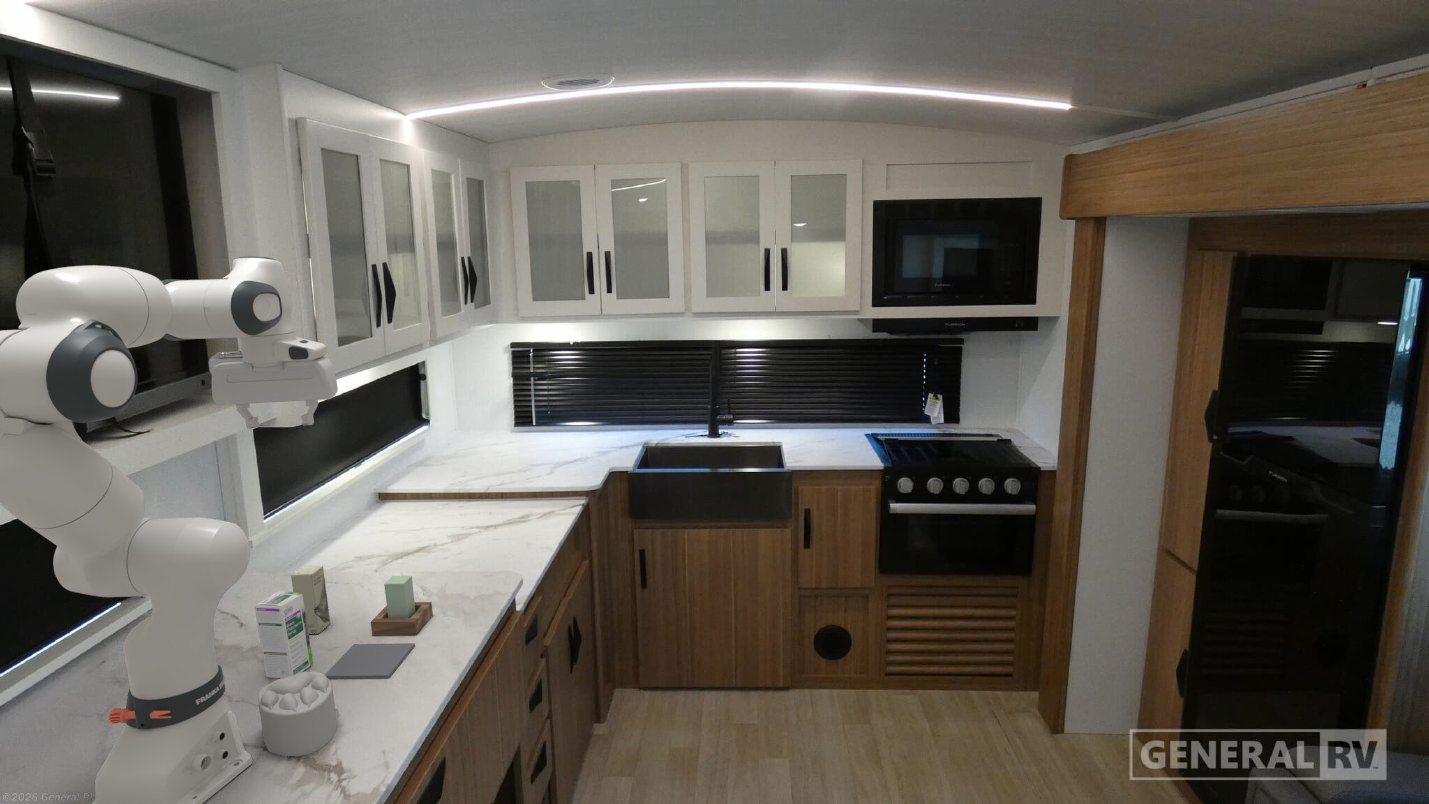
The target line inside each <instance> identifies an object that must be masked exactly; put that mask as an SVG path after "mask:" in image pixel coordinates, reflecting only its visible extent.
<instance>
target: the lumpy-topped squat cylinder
mask: <svg viewBox="0 0 1429 804" xmlns="http://www.w3.org/2000/svg"><path fill="white" fill-rule="evenodd" d="M257 702H258V708H259V709H258V710H259V714H260V723H261V728H262V735H263V741H264V742H263V743H264V745H265V748H266V749H267V750H268V752H270V753H272V754H274V755H277V756H280V755H282V756H281V757H287V756H288V758H290V757H289V756H295V757H302V755H303V756H307V755H310V754H312V753H315V752H317V751H319V750H321V749H322V748H323V747H325V746H326V745H327V744H329V743H330V742H331V741H332V739H333V738H334V736H335V734H336V733H337V731H338V720H337V712H336V705H335V697H334V689H333V685H332V683H331V681H330V679H328V678H327V677H326V676H325V674H324V673H323V672H320V671H303V672H301V673H298V674H296V675H293V676H290V677H286V678H282V679H278V678H276V679H275V680H273V681H272V682H270V683H268V684H267V685H264V686H263V687H262V688H261V689H260V690H259V691H258V693H257Z"/></svg>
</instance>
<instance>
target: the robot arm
mask: <svg viewBox="0 0 1429 804" xmlns="http://www.w3.org/2000/svg"><path fill="white" fill-rule="evenodd" d="M290 291H291V290H290V286H289V282H288V277H287V275H286V271H285V269H284V267H283V263H281V262H280V261H279V260H278V259H275V258H272V257H268V256H258V255H257V256H255V255H253V256H251V255H250V256H239V257H237V258H235V259H233V261H232V267H231V271H230V272H229V273H228V274H227V275H226V276H224V277H222V278H218V279H215V278H213V279H188V280H187V279H173V278H172V279H170V278H169V279H163V280H160V279H159V278H158V277H156V276H154V275H153V274H150V273H147V272H144V271H141V270H138V269H134V268H133V269H132V268H129V267H123V266H111V265H95V264H93V265H75V266H66V267H65V266H64V267H57V268H53V269H48V270H43V271H40V272H38V273H35V274H33V275H32V276H30V277H29V278H28V279H26V280H25V281H24V283H23V284H22V285H21V287H20V288H19V290H18V292H17V295H16V301H15V308H16V313H17V316H18V319H19V322H20V325H19V326H18V329H7V330H5V329H4V330H0V505H1V507H3V508H4V509H5V510H6V511H8V512H9V513H10V514H11V515H12V516H14V517H15V518H16V519H18V520H19V521H21V522H22V523H23V524H25V525H27V526H28V527H29V528H31V529H33V530H34V531H35V532H37V533H38V534H40V535H41V536H42V537H44V538H45V539H46V540H48V541H50V542H51V543H53V545H55V546H56V548H55V552H54V553H53V554H54V555H53V562H52V563H53V571H54V575H55V577H56V578H57V580H58V582H59V584H60V585H61V586H62V588H63V589H66V590H67V591H69V592H72V593H79V594H81V595H82V594H83V595H89V596H93V597H94V596H95V597H100V598H101V597H102V598H122V597H123V598H124V597H127V598H128V597H149V599H150V601H151V606H152V609H151V615H150V616H148V617H146V618H145V619H144V620H142V621H141V622H139V623H138V624H136V625H135V626H134V627H133V628H132V629H131V630H130V632H129V633H128V635H127V636H126V638H125V641H124V643H123V647H122V651H123V657H124V661H125V667H126V669H125V670H126V673H127V679H128V684H129V690H128V693H127V695H126V696H127V698H126V703H125V708H121V707H120V708H119V707H115V708H113V709H111V711H110V712H109V715H108V721H109V723H111V724H118V723H119V724H120V723H121V724H124V726H123V729H122V730H121V732H120V734H119V735H118V737H117V738H116V740H115V742H114V745H113V747H112V748H111V749H110V751H109V754H108V756H106V758H105V761H104V762H103V764H102V766H101V768H100V769H99V771H98V773H97V774H96V778H95V782H94V795H95V796H94V797H95V798H94V800H93V801H92V802H91V804H204V803H205V802H206V801H208V800H209V799H210V798H211V797H213V796H214V795H215V794H216V793H217V792H219V791H220V790H221V789H222V788H224V787H225V786H226V785H227V784H229V783H230V782H232V780H233V779H236V777H237V776H238V775H240V774H241V773H242V772H244V771H245V770H246V769H247V768H248V767H250V766H251V765H252V763H253V758H252V755H251V753H249V752H248V751H247V750H246V749H245V745H244V743H243V739H242V736H241V733H240V729H239V726H238V725H239V724H238V721H237V719H236V716H235V713H234V711H233V710H232V707H230V705H229V703H228V700H226V699H227V698H226V696H225V692H226V685H225V681H226V680H225V678H226V677H225V675H224V673H223V669H222V667H221V665H220V664H219V662H218V658H217V657H218V656H217V648H216V640H215V628H214V627H215V625H214V624H215V616H216V612H217V608H218V606H219V603H220V602H221V600H222V598H223V597H224V595H225V594H226V592H227V591H229V590H230V589H231V588H232V587H233V586H234V585H236V584H237V583H238V582H239V581H240V580H241V579H242V577H243V576H244V575H245V572H246V570H247V568H248V566H249V563H250V558H251V545H250V542H249V538H248V537H247V534H246V532H245V531H244V529H242V528H241V527H240V525H238V524H237V523H235V522H231V521H230V522H229V521H226V520H221V519H215V518H214V519H213V518H209V517H202V516H201V517H197V516H196V517H172V518H171V517H167V518H165V517H163V518H159V517H158V518H157V517H155V518H154V517H147V516H145V511H146V502H145V495H144V492H143V490H142V488H140V486H139V485H137V484H136V483H135V482H134V481H133V480H132V479H130V478H129V477H128V476H127V475H126V474H125V473H123V472H122V471H121V470H120V469H119V468H118V467H116V465H114V464H113V463H112V462H110V461H109V460H108V459H107V458H106V457H104V455H102V454H101V453H100V452H98V451H97V450H96V449H95V448H93V447H92V446H90V445H89V444H88V443H86V442H84V441H83V440H82V438H81V437H80V435H79V434H78V432H77V431H76V429H75V427H74V426H75V425H73V422H74V423H80V424H87V423H92V422H93V423H94V422H99V421H103V420H104V421H105V420H108V419H111V418H115V417H117V416H118V415H120V414H122V413H123V412H124V411H125V410H126V409H127V408H128V407H129V404H130V403H131V401H132V400H133V398H134V396H135V394H136V392H137V387H138V371H137V370H138V369H137V367H136V363H135V361H134V358H133V357H132V356H133V355H132V354H131V352H130V350H129V349H131V348H136V347H141V346H144V345H148V344H151V343H154V342H157V341H159V340H161V339H162V338H163V339H165V340H168V341H173V342H175V341H176V342H177V341H187V340H196V339H200V340H202V339H203V340H204V339H205V340H206V339H229V338H230V339H232V338H233V339H237V338H238V339H239V344H240V350H237V351H236V350H235V351H229V352H226V351H219V352H215V353H216V354H214V355H212V356H211V357H210V358H209V361H208V368H209V372H210V375H211V394H212V395H211V396H212V400H213V402H215V404H217V405H218V406H226V405H227V406H229V405H231V406H232V405H235V406H236V411H237V412H238V414H239V415H240V416H241V417H242V418H243V419H244V420H245V427H246V429H257V428H259V427H260V422H259V416H253V415H252V413H251V412H250V410H249V408H250V407H251V404H267V403H285V402H303V401H304V402H305V406H306V407H309V408H307V409H308V410H307V413H304V414H302V415H301V416H300V417H301V418H300V419H301V421H302V422H301V424H302V426H313V425H314V423H315V420H314V413H315V412H316V410H317V407H318V405H319V401H324V400H326V401H327V400H330V399H332V398H334V397H335V396H336V395H337V393H338V388H339V387H338V382H337V377H336V373H335V369H334V365H333V363H332V362H331V360H330V359H329V358H328V357H326V356H325V355H326V354H327V353H328V350H327V345H326V344H325V343H322V342H320V341H319V342H318V341H314V340H309V339H306V338H303V337H300V336H297V331H296V328H295V325H294V324H293V320H292V311H293V309H292V308H293V303H292V296H291V292H290Z"/></svg>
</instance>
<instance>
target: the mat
mask: <svg viewBox="0 0 1429 804" xmlns="http://www.w3.org/2000/svg"><path fill="white" fill-rule="evenodd" d="M415 647H416V643H414V642H413V643H412V642H411V643H410V642H409V643H354V644H353V645H352V646H351V647H349V649H348V650H347V651H346V652H345V653H343V655H342V656H341V657H340V658H339V659H338V660H337V661H336V662H335V663H334V665H332V666H331V667H330V669H329V670H328V671H326V673H325V674H324V675H325V676H326V677H327V678H328V679H329V680H347V679H348V680H353V679H356V680H358V679H362V680H363V679H365V680H366V679H367V680H368V679H390V678H391V677H392V675H393V674H394V673H395V672H396V671H397V669H398V668H399V667H400V666H401V665H402V663H403V662H404V660H406V658H407V657H408V656H409V655H410V653H411V652H412V650H414V649H415Z"/></svg>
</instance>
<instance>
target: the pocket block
mask: <svg viewBox="0 0 1429 804" xmlns="http://www.w3.org/2000/svg"><path fill="white" fill-rule="evenodd" d="M415 610H416V612H415V613H414V615H413V616H412V617H411V618H388V612H387V605H385V607H384V608H383V609H381V611H379V613H377V615H376V616H374V617H373V618H372V620H371V621H370V629H371V631H370V632H371V636H372V637H384V636H385V637H386V636H387V637H389V636H390V637H396V636H397V637H398V636H400V637H402V636H417V635H418V634H419V633H420V632H421V630H422V629H423V628H424V627H425V626H426V624H428V622H429V621H430V620H431V618H432V617H433V616H434V612H433V604H432V601H415Z"/></svg>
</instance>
